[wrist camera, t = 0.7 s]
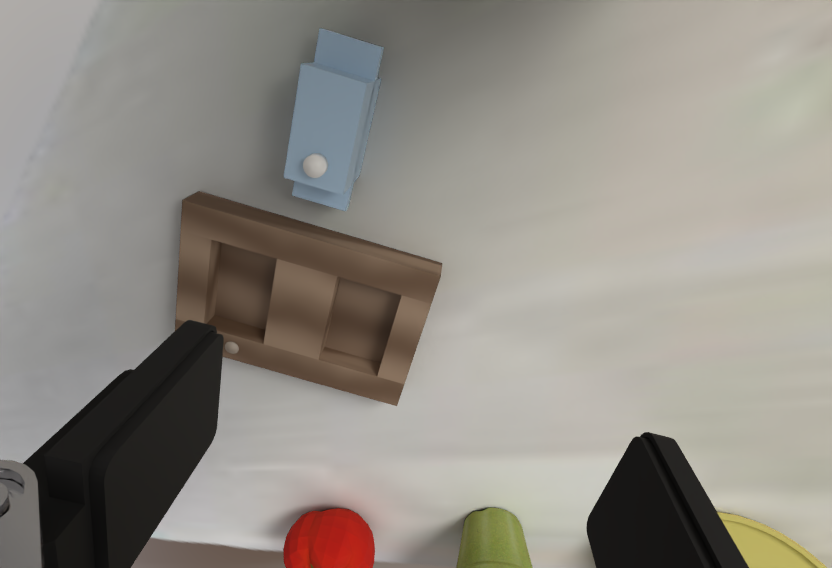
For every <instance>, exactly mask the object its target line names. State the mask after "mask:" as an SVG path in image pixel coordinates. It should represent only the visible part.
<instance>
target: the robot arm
mask: <svg viewBox="0 0 832 568" xmlns="http://www.w3.org/2000/svg"><path fill="white" fill-rule="evenodd" d="M223 343H224V337H223V335H222V334H218V333H217V329H216V327H215V326H213V325H209V324H205V323H201V322H197V321H193V320H187V321H186V322H184V323H183V324H182V325H181V326H180V327H179V328H178V329H177V330H176V331H175V332H174V333H173V334H172V335H171V336H170V337H168V338H167V339H166V340H165V341H164V342H163V343H162V344H161V345H160V346H159V347H158V348H157V349H156V350H155V351H154V352H153V353H152V354H150V355H149V356H148V357H147V358H146V359H145V360H144V361H143V362H142V363H141V364H140V365H139V366H138V367H137V368H136V369H135V370H131V369H130V370H127V371H124V372H123V373H122V374H120V375H119V376H118V377H117V378H116V379H114V380H113V381H112V382H111V383H110V384H109V385H108V386H107V387H106V388H105V389H104V390H102V391H101V392H100V393H99V394H98V395H97V396H96V397H95V398H94V399H93V400H92V401H91V402H89V403H88V404H87V405H86V406H85V407H84V408H83V409H82V410H81V411H80V412H79V413H77V414H76V415H75V416H74V417H73V418H72V419H71V420H70V421H69V422H68V423H67V424H65V425H64V426H63V427H62V428H61V429H60V430H59V431H58V432H57V433H56V434H55V435H53V436H52V437H51V438H50V439H49V440H48V441H47V442H46V443H45V444H44V445H43V446H41V447H40V448H39V449H38V450H37V451H36V452H35V453H34V454H33V455H32V456H31V457H29V458H28V459H27V460H26V461H25V462H24V463H23V464H22V463H18V462H15V461H8V460H0V568H131V566H132V565H133V563H134V561H135V560H136V558H137V557H138V555H139V554H140V552H141V551H142V549H143V548H144V546H145V545H146V543H147V542H148V540H149V538H150V537H151V535H152V534H153V532H154V531H155V529H156V528H157V526H158V525H159V523H160V522H161V520H162V518H163V517H164V515H165V514H166V512H167V511H168V509H169V508H170V506H171V505H172V503H173V502H174V500H175V498H176V497H177V495H178V494H179V492H180V491H181V489H182V488H183V486H184V485H185V483H186V482H187V480H188V478H189V477H190V475H191V474H192V472H193V471H194V469H195V468H196V466H197V465H198V463H199V462H200V460H201V459H202V457H203V455H204V454H205V452H206V451H207V449H208V448H209V446H210V445H211V443H212V441H213V439H214V436H215V433H216V430H217V420H218V407H219V394H220V381H221V369H222V356H223ZM587 535H588V539H589V542H590V546H591V549H592V553H593V557H594V560H595V564H596V568H749V567H748V565H747V563H746V561H745V560H744V558H743V556H742V554H741V553H740V551H739V549H738V548H737V546H736V544H735V542H734V541H733V539H732V537H731V535H730V534H729V532H728V530H727V529H726V527H725V525H724V523H723V522H722V520H721V518H720V516H719V515H718V513H717V511H716V510H715V508H714V506H713V504H712V503H711V501H710V499H709V497H708V496H707V494H706V492H705V491H704V489H703V487H702V485H701V484H700V482H699V480H698V479H697V477H696V475H695V473H694V472H693V470H692V468H691V466H690V465H689V463H688V461H687V460H686V458H685V456H684V454H683V453H682V451H681V449H680V447H679V446H678V444H677V443H676V441H675V440H674V439H672V438H669V437H665V436H661V435H657V434H653V433H649V432H646V433H643V434H642V435H641V436H640V437H635V438H633V440H632V441H631V443H630V444H629V446H628V448H627V450H626V451H625V453H624V455H623V457H622V458H621V460H620V462H619V464H618V466H617V467H616V469H615V471H614V473H613V474H612V476H611V478H610V480H609V481H608V483H607V485H606V487H605V489H604V490H603V492H602V494H601V496H600V497H599V499H598V501H597V503H596V504H595V506H594V508H593V510H592V511H591V513H590V515H589V517H588V521H587Z"/></svg>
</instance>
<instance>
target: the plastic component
mask: <svg viewBox="0 0 832 568" xmlns="http://www.w3.org/2000/svg"><path fill="white" fill-rule="evenodd" d="M717 513H718V515H719V516H720V518H721V520H722V522H723V523H724V525H725V527H726V529H727V530H728V532H729V534H730V535H731V537H732V539H733V541H734V542H735V544H736V546H737V548H738V549H739V551H740V553H741V554H742V556H743V558H744V560H745V561H746V563H747V565H748V567H749V568H827V567H826V566H825V565H824V564H822V563H821V562H820V561H819V560H818V559H817V558H815V557H814V556H813V555H812V554H811V553H809V552H808V551H807V550H805V549H804V548H803V547H802V546H800V545H799V544H798V543H796V542H794V541H793V540H791V539H790V538H788V537H786V536H785V535H783V534H782V533H780V532H778V531H776V530H774V529H772V528H770V527H768V526H766V525H764V524H761V523H758V522H756V521H753V520H750V519H747V518H744V517H741V516H737V515H732V514H726V513H720V512H717Z"/></svg>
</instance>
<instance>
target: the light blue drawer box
mask: <svg viewBox="0 0 832 568" xmlns="http://www.w3.org/2000/svg"><path fill="white" fill-rule="evenodd" d="M383 50H384V47H381V46H378V45H375V44H372V43H368V42H365V41H362V40H359V39H356V38H352V37H349V36H346V35H343V34H339V33H336V32H333V31H330V30H327V29H323V28H320V29H319V35H318V41H317V47H316V53H315V59H314V62H311V63H301V67H300V74H299V80H298V87H297V93H296V100H295V106H294V113H293V119H292V126H291V132H290V139H289V145H288V152H287V158H286V165H285V171H284V178H287V179H290V180H293V181H294V186H293V192H292V196H296V197H299V198H302V199H306V200H309V201H312V202H316V203H319V204H323V205H326V206H329V207H333V208H336V209H339V210H343V211H347V209H348V207H349V203H350V198H351V194H352V189H353V185H354V182H355V181H356V179H357V178H358V177H359V176H360V171H361V167H362V163H363V158H364V154H365V149H366V145H367V141H368V136H369V132H370V127H371V123H372V118H373V114H374V110H375V105H376V101H377V96H378V92H379V88H380V83H381V78H377V77H378V73H379V68H380V64H381V59H382V55H383Z"/></svg>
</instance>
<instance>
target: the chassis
mask: <svg viewBox="0 0 832 568" xmlns="http://www.w3.org/2000/svg"><path fill="white" fill-rule="evenodd" d="M441 269H442V263H440V262H436V261H433V260H430V259H426V258H423V257H419V256H416V255H413V254H409V253H406V252H403V251H399V250H396V249H392V248H389V247H386V246H382V245H379V244H376V243H372V242H369V241H365V240H362V239H359V238H355V237H352V236H349V235H345V234H342V233H339V232H335V231H332V230H328V229H325V228H322V227H318V226H315V225H312V224H308V223H305V222H301V221H298V220H295V219H291V218H288V217H285V216H281V215H278V214H274V213H271V212H268V211H264V210H261V209H258V208H254V207H251V206H247V205H244V204H241V203H237V202H234V201H231V200H227V199H224V198H220V197H217V196H214V195H210V194H207V193H204V192H200V191H199V192H197V193H195V194H193V195H191V196H189V197H187V198H185V199H184V200H182V216H181V234H180V251H179V269H178V286H177V304H176V321H175V331H176V330H177V329H178V328H179V327H180V326H181V325H182V324H183V323H184V322H186V321H187V320H193V321H197V322H201V323H205V324H209V325H213V326H215V327H216V329H217V333H218V334H222V335H223V337H224V343H223V357H226V358H230V359H233V360H237V361H240V362H244V363H247V364H251V365H254V366H258V367H261V368H265V369H268V370H272V371H275V372H279V373H282V374H286V375H289V376H293V377H297V378H300V379H304V380H307V381H311V382H314V383H318V384H321V385H325V386H328V387H332V388H335V389H339V390H342V391H346V392H349V393H353V394H356V395H360V396H363V397H367V398H370V399H374V400H377V401H381V402H384V403H388V404H391V405H395V406H397V404H398V401H399V398H400V395H401V392H402V389H403V386H404V384H405V381H406V378H407V375H408V372H409V369H410V366H411V363H412V360H413V357H414V354H415V351H416V348H417V345H418V342H419V339H420V336H421V333H422V330H423V327H424V324H425V321H426V318H427V315H428V312H429V309H430V306H431V303H432V301H433V298H434V295H435V292H436V289H437V286H438V283H439V280H440V277H441Z"/></svg>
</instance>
